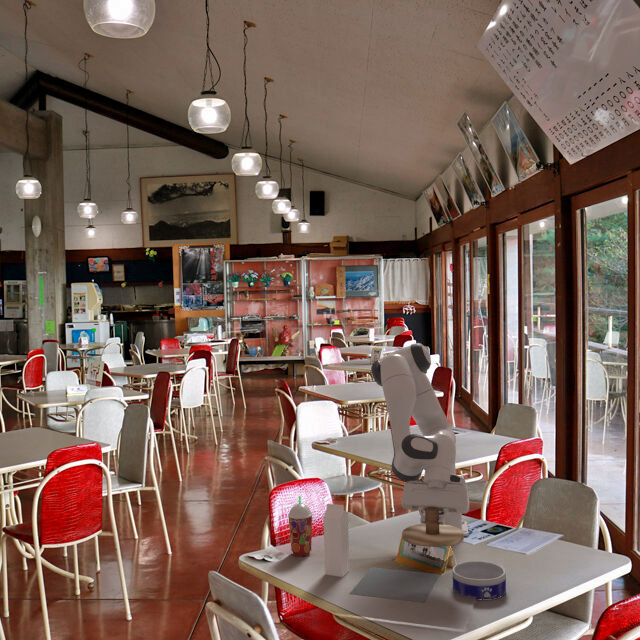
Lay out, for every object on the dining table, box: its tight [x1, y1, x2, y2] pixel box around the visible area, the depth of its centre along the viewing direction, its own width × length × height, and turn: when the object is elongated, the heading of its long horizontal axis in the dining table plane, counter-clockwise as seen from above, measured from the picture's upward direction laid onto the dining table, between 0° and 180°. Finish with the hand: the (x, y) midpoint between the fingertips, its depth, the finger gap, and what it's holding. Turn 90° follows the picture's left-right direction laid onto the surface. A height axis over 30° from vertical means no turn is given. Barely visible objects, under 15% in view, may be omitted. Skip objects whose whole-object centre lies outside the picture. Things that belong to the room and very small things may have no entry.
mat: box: [349, 566, 441, 604], centre depth 210 cm, size 22×22×1 cm
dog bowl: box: [451, 560, 507, 601], centre depth 206 cm, size 15×15×6 cm
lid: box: [401, 507, 465, 548], centre depth 208 cm, size 18×18×8 cm
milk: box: [322, 503, 351, 578], centre depth 221 cm, size 6×6×22 cm
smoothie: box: [287, 495, 313, 557], centre depth 241 cm, size 8×8×20 cm
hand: (432, 523), depth 207 cm, fingers closed on lid, 4 cm apart
